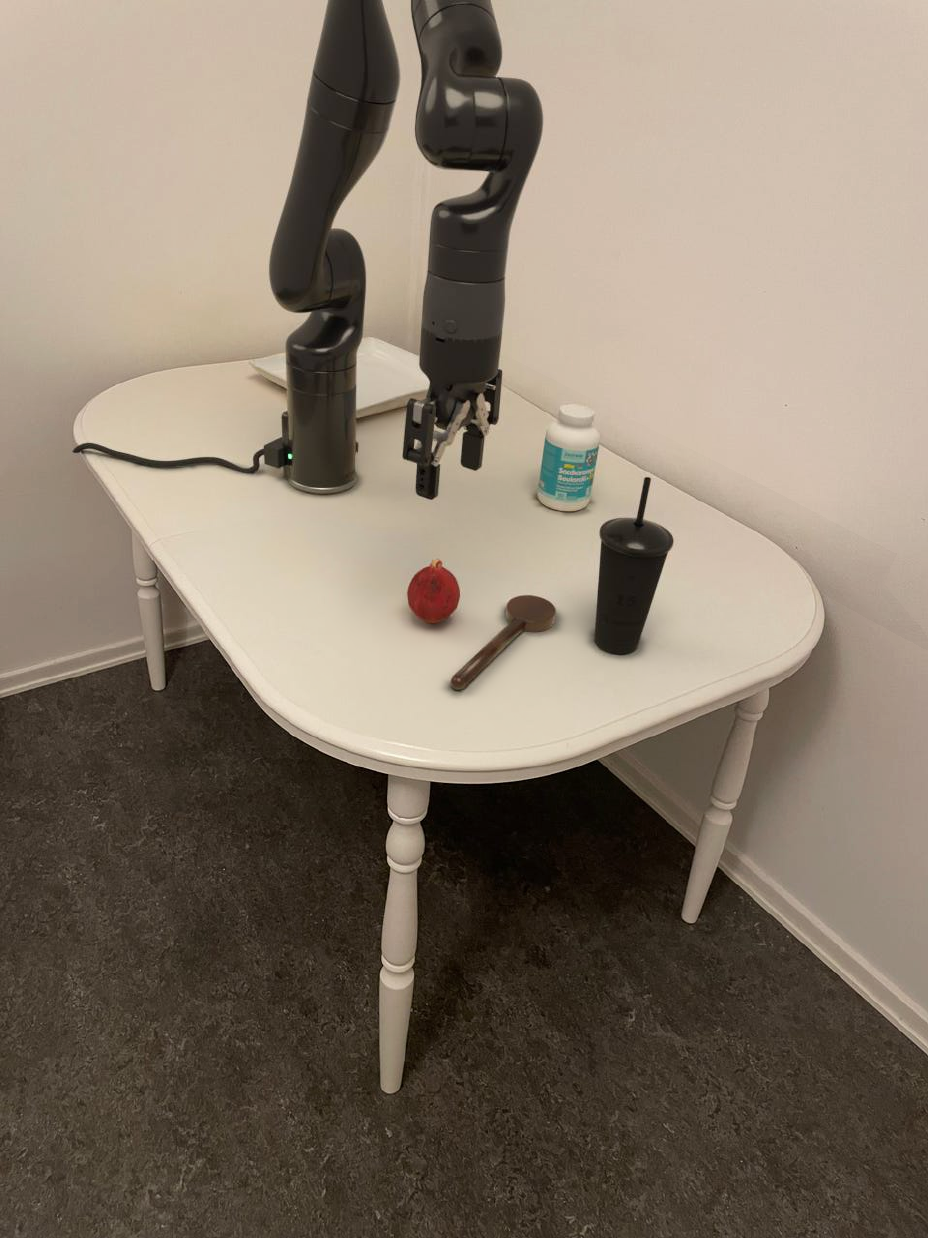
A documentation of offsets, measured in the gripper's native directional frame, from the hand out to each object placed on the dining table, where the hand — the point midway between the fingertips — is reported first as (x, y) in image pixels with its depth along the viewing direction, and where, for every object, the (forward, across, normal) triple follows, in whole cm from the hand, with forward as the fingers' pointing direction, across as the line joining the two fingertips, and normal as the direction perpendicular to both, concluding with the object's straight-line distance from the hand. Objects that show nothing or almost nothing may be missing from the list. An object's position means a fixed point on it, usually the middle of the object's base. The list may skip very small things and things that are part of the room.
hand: (449, 481), depth 98 cm
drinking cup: (+17, -9, +18) cm, 26 cm away
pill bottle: (+18, -37, -2) cm, 41 cm away
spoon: (+17, 0, +8) cm, 19 cm away
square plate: (+18, -52, -49) cm, 74 cm away
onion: (+18, 0, -1) cm, 18 cm away
